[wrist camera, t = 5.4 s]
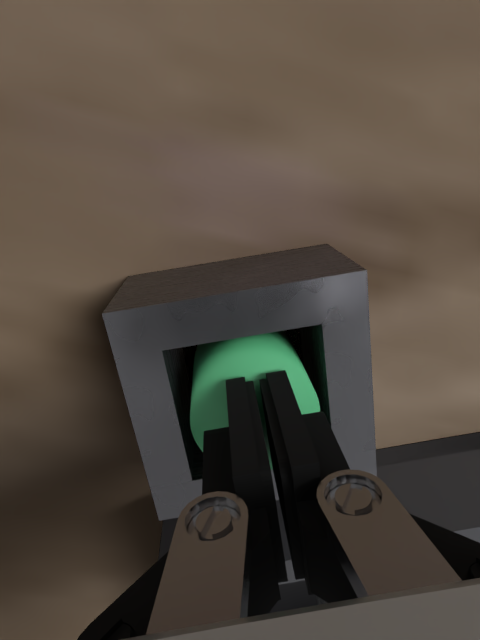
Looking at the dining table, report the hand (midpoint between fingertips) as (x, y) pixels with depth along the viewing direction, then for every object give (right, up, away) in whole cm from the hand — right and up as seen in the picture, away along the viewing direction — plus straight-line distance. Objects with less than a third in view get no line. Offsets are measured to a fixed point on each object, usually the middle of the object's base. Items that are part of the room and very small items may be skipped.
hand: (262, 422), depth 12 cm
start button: (0, +1, +3) cm, 4 cm away
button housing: (-1, +2, +4) cm, 5 cm away
